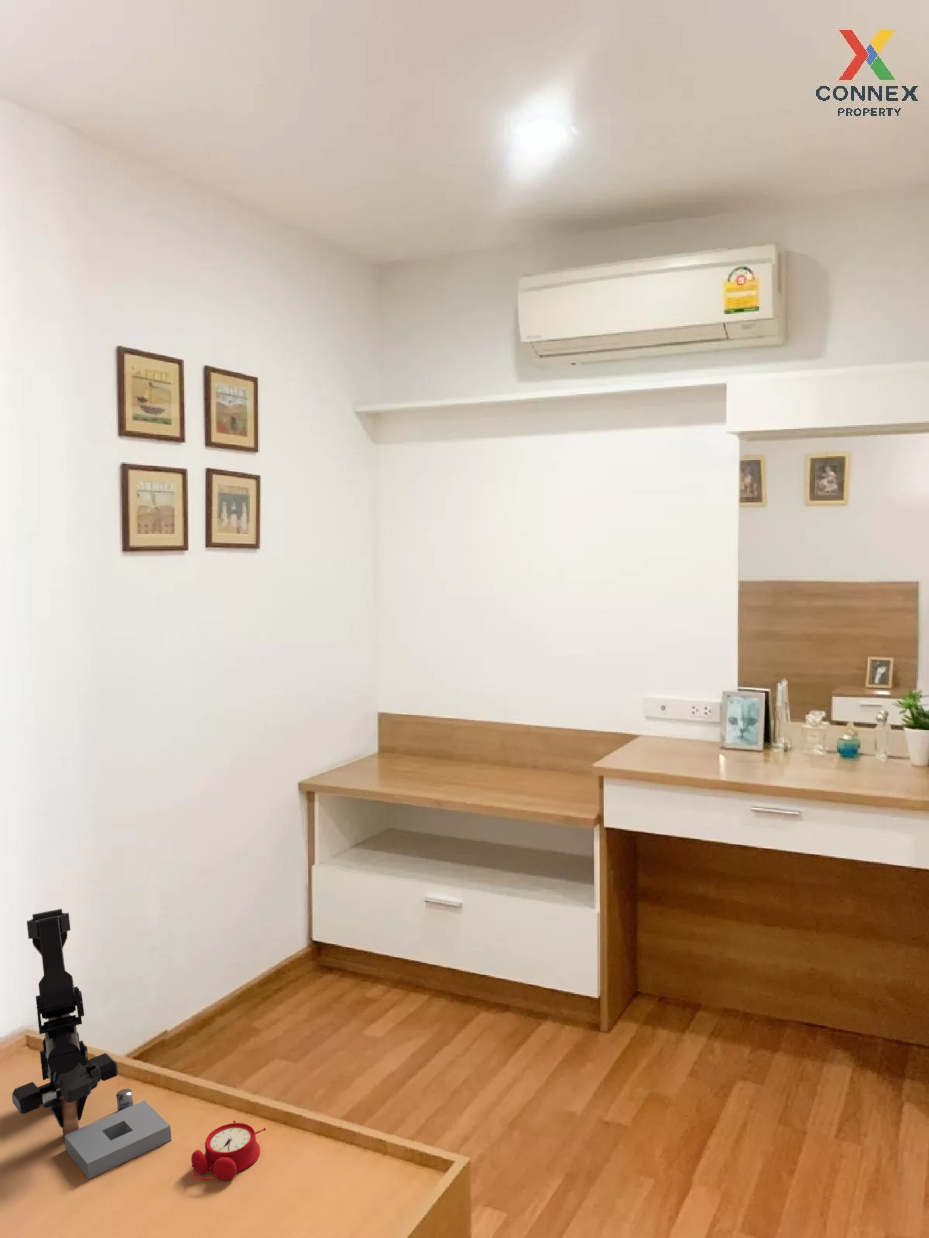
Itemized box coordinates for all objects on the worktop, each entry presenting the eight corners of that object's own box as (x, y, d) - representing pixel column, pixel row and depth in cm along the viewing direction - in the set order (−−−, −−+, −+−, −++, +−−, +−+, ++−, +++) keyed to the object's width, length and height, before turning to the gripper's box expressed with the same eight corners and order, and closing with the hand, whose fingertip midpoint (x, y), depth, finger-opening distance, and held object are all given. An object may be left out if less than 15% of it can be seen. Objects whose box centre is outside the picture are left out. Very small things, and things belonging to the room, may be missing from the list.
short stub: (115, 1111, 205) (113, 1092, 205) (130, 1105, 207) (128, 1086, 207) (121, 1117, 203) (119, 1098, 202) (135, 1111, 205) (134, 1092, 204)
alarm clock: (273, 1125, 192) (224, 1155, 178) (271, 1159, 191) (221, 1192, 177) (228, 1114, 196) (177, 1142, 182) (226, 1148, 195) (175, 1179, 182)
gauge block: (65, 1149, 193) (64, 1135, 193) (145, 1113, 204) (144, 1100, 203) (89, 1178, 184) (87, 1163, 184) (171, 1139, 194) (170, 1125, 194)
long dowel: (60, 1135, 198) (57, 1096, 197) (76, 1128, 200) (72, 1090, 199) (66, 1141, 196) (62, 1103, 195) (81, 1134, 198) (78, 1096, 197)
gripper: (26, 1083, 184) (34, 1163, 185) (125, 1044, 196) (132, 1119, 198) (7, 1060, 192) (15, 1137, 194) (103, 1024, 204) (110, 1096, 206)
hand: (70, 1122), depth 198 cm, fingers closed on long dowel, 3 cm apart
